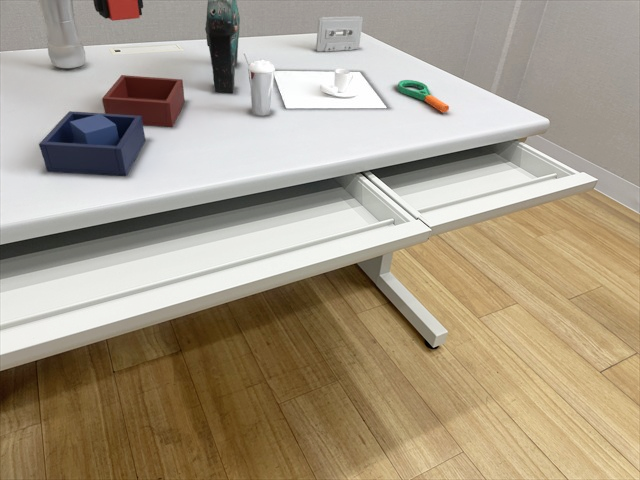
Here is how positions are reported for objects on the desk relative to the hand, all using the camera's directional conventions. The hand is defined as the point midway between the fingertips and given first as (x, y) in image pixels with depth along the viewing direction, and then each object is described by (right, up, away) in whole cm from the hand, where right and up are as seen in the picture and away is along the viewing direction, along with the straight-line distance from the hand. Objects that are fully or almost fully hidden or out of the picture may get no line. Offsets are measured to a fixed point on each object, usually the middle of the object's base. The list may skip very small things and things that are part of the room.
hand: (120, 13), depth 77 cm
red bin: (+3, -15, +5) cm, 16 cm away
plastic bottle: (-18, -2, +19) cm, 26 cm away
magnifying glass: (+54, -8, +21) cm, 58 cm away
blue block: (0, -24, -8) cm, 25 cm away
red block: (0, 0, 0) cm, 0 cm away
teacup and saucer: (+34, -6, +21) cm, 40 cm away
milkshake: (+21, -14, +9) cm, 27 cm away
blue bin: (0, -24, -7) cm, 25 cm away
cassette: (+37, +11, +43) cm, 58 cm away
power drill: (+13, -3, +21) cm, 25 cm away
